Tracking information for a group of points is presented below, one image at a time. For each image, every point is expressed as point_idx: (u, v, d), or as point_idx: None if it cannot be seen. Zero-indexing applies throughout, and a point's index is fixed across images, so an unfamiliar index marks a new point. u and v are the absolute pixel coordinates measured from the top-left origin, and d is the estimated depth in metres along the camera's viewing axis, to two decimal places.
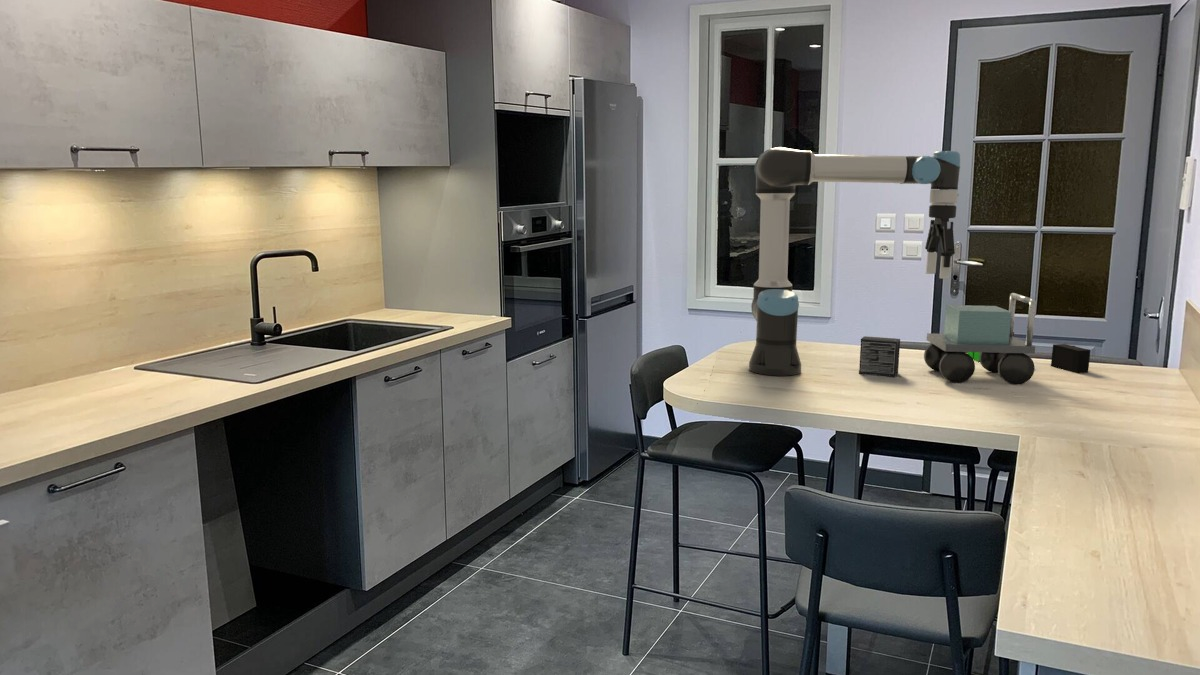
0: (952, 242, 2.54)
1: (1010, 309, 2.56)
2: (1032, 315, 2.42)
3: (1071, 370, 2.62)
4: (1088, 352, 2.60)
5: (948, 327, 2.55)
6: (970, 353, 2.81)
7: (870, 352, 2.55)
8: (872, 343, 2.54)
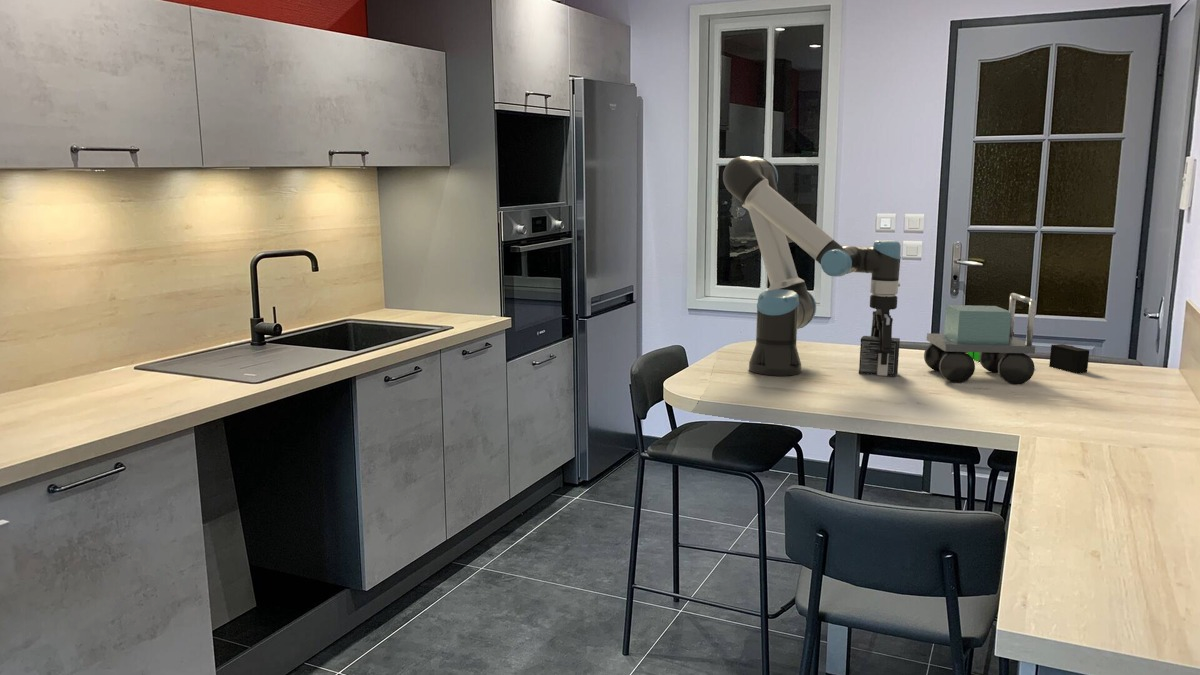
0: (889, 340, 2.49)
1: (1010, 309, 2.56)
2: (1032, 315, 2.42)
3: (1070, 370, 2.62)
4: (1087, 352, 2.60)
5: (948, 327, 2.55)
6: (970, 353, 2.81)
7: (870, 352, 2.55)
8: (872, 343, 2.54)
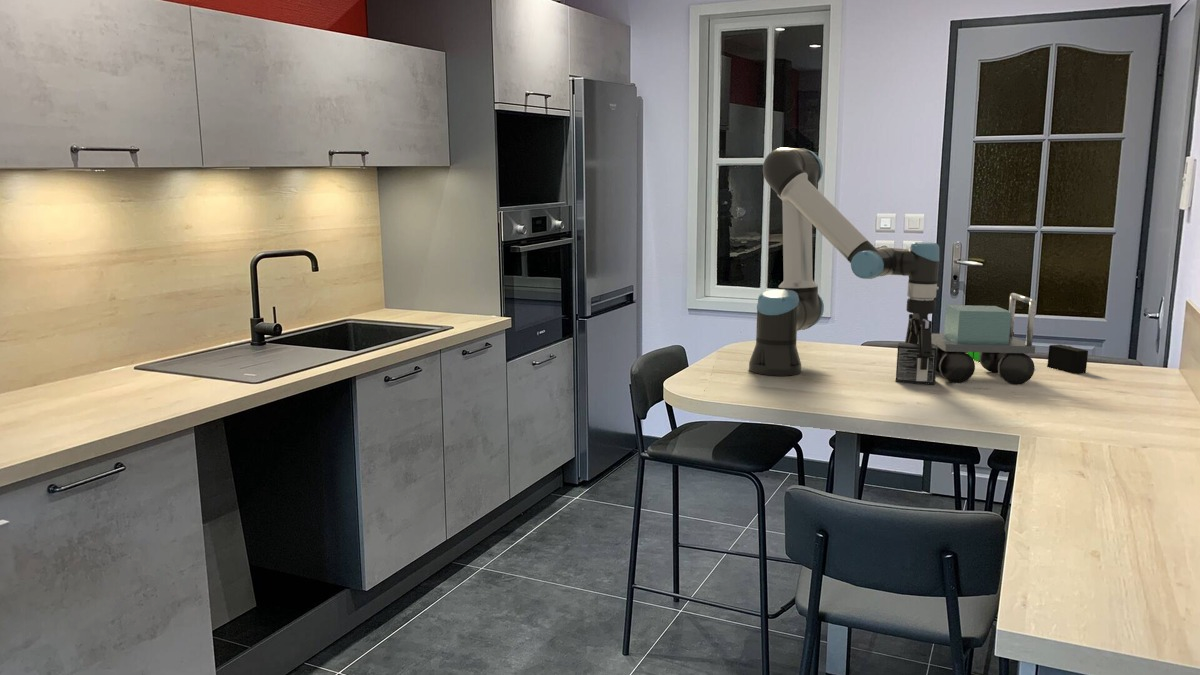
0: (929, 344, 2.38)
1: (1010, 309, 2.56)
2: (1032, 315, 2.42)
3: (1069, 371, 2.61)
4: (1086, 352, 2.59)
5: (948, 327, 2.55)
6: (970, 353, 2.81)
7: (907, 360, 2.45)
8: (910, 350, 2.44)
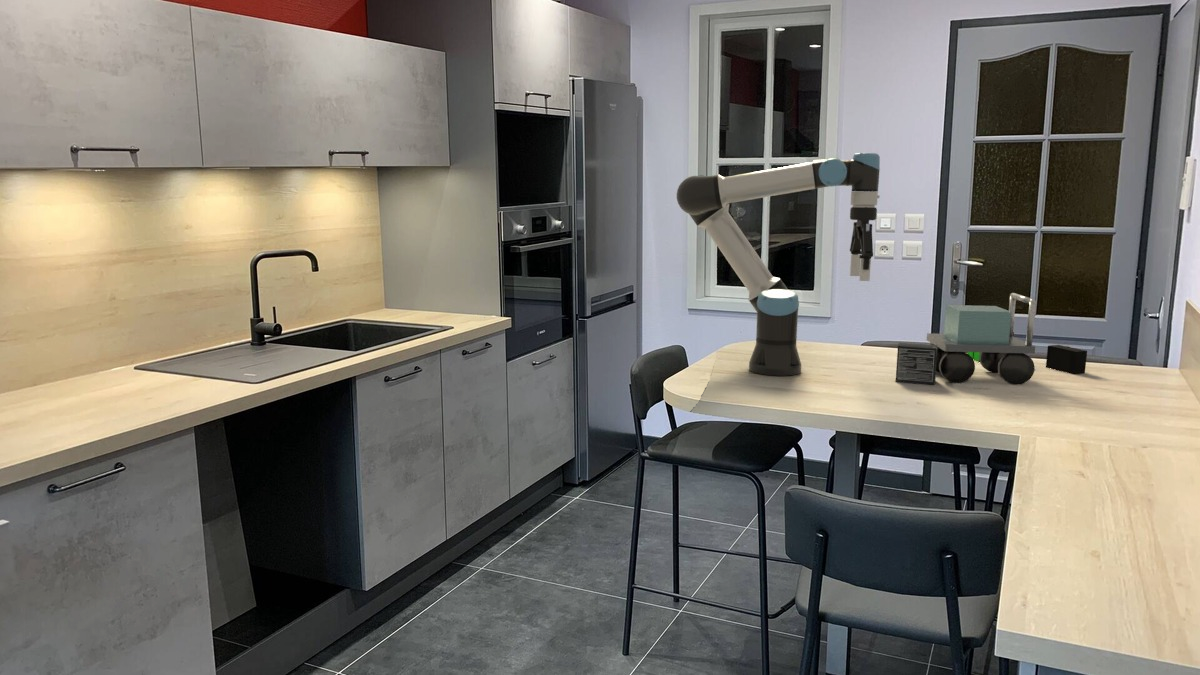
0: (871, 244, 2.53)
1: (1010, 309, 2.56)
2: (1032, 315, 2.42)
3: (1068, 371, 2.61)
4: (1085, 353, 2.59)
5: (948, 327, 2.55)
6: (970, 353, 2.81)
7: (907, 360, 2.45)
8: (910, 350, 2.44)
